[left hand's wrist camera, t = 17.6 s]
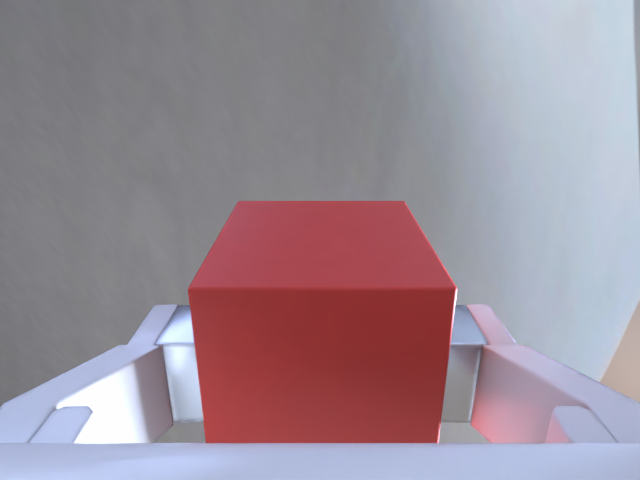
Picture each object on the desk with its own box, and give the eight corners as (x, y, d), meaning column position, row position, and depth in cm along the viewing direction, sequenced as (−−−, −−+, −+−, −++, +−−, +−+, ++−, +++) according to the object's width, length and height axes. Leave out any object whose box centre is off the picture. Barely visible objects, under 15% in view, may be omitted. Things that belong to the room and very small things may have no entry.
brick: (404, 200, 12) (458, 287, 7) (394, 349, 13) (432, 497, 9) (237, 200, 12) (186, 288, 7) (248, 350, 13) (211, 498, 9)
